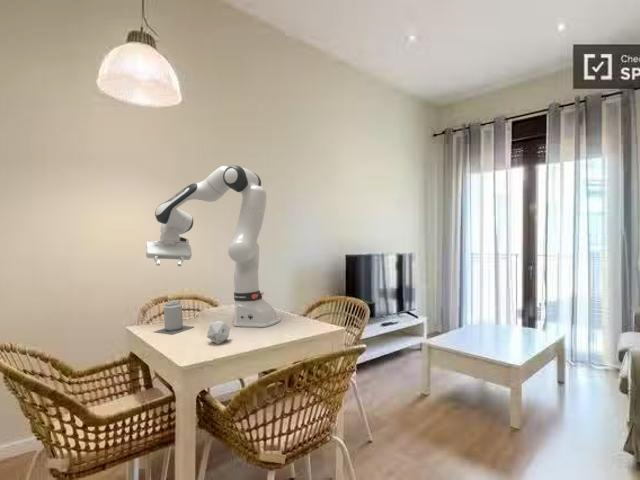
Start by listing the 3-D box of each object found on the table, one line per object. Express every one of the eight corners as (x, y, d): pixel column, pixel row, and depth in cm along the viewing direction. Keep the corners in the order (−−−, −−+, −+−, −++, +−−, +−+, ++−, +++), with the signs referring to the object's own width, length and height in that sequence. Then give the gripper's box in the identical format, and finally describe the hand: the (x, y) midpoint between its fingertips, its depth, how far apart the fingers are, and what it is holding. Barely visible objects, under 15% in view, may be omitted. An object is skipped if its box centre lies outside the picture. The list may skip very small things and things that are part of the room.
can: (176, 331, 155) (175, 304, 155) (161, 331, 157) (159, 304, 156) (186, 326, 162) (184, 300, 162) (171, 326, 164) (170, 300, 164)
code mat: (194, 327, 162) (194, 326, 162) (172, 334, 151) (172, 334, 151) (175, 325, 168) (175, 324, 168) (153, 332, 157) (153, 331, 157)
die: (204, 348, 134) (215, 328, 131) (201, 331, 140) (212, 313, 138) (224, 350, 138) (236, 332, 136) (221, 335, 145) (232, 317, 142)
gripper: (146, 236, 171) (144, 260, 163) (191, 239, 180) (192, 262, 172) (146, 244, 175) (144, 268, 167) (190, 247, 184) (190, 269, 176)
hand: (169, 265), depth 170 cm, fingers open, 8 cm apart
